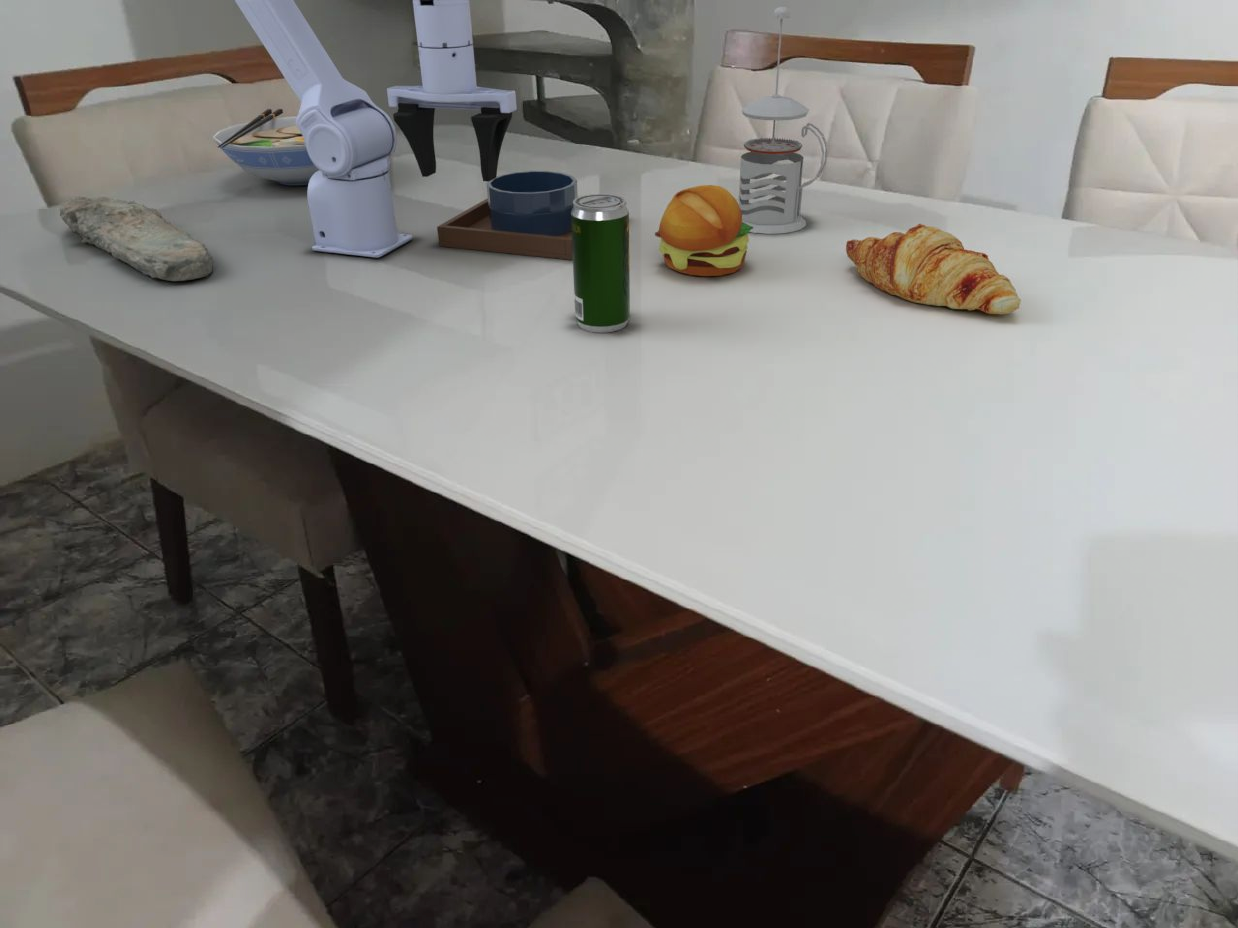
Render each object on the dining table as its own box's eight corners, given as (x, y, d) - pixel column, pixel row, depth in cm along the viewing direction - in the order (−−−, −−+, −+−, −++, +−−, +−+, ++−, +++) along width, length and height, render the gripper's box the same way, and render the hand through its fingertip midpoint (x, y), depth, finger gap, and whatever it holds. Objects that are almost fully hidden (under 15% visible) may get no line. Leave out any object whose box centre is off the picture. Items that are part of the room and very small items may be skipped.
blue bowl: (481, 237, 114) (477, 192, 111) (502, 212, 124) (498, 170, 121) (569, 240, 113) (567, 194, 110) (584, 214, 122) (582, 171, 120)
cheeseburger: (763, 254, 108) (763, 175, 101) (732, 306, 102) (731, 224, 95) (681, 243, 112) (676, 165, 105) (647, 292, 105) (639, 212, 98)
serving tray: (438, 246, 114) (436, 226, 112) (499, 209, 127) (498, 191, 126) (572, 260, 108) (571, 240, 107) (621, 220, 122) (620, 202, 120)
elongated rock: (151, 305, 101) (240, 287, 108) (141, 258, 99) (233, 242, 105) (45, 224, 122) (124, 212, 128) (34, 183, 119) (116, 173, 126)
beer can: (594, 338, 89) (590, 213, 82) (565, 320, 93) (559, 199, 86) (640, 325, 91) (640, 203, 85) (610, 309, 95) (608, 190, 89)
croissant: (1023, 346, 94) (1061, 270, 92) (982, 325, 87) (1022, 242, 85) (856, 286, 108) (885, 219, 106) (808, 263, 101) (839, 192, 99)
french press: (744, 208, 126) (755, 2, 113) (829, 218, 121) (850, 4, 108) (718, 228, 118) (727, 9, 105) (807, 239, 114) (828, 12, 101)
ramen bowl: (356, 201, 132) (347, 141, 127) (196, 203, 132) (181, 143, 128) (395, 160, 153) (388, 107, 149) (257, 161, 153) (246, 109, 149)
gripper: (524, 42, 99) (532, 172, 106) (404, 39, 103) (420, 164, 110) (495, 51, 93) (506, 188, 100) (369, 47, 97) (388, 179, 104)
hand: (459, 177), depth 105 cm, fingers open, 7 cm apart
